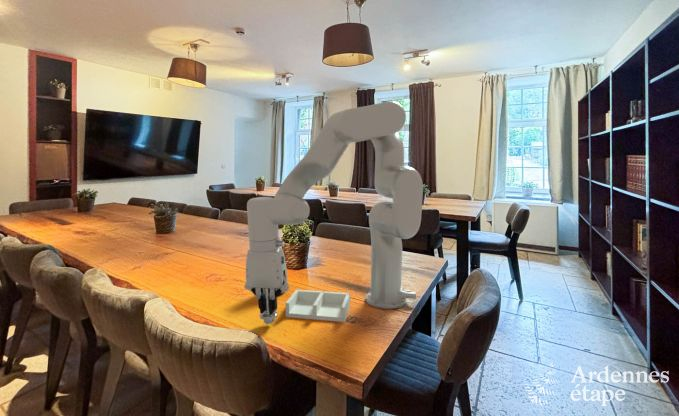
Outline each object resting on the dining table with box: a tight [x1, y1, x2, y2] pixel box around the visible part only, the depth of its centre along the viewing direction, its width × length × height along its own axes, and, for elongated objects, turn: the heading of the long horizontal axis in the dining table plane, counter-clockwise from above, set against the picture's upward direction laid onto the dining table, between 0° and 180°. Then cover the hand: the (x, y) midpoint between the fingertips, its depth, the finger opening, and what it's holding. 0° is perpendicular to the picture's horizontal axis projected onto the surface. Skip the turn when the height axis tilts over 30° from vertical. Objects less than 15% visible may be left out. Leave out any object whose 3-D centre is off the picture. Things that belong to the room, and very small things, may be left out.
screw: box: [259, 288, 279, 325], centre depth 89 cm, size 13×5×5 cm
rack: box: [285, 289, 351, 323], centre depth 98 cm, size 17×10×4 cm, turn 80°
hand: (268, 311), depth 89 cm, fingers closed on screw, 2 cm apart
